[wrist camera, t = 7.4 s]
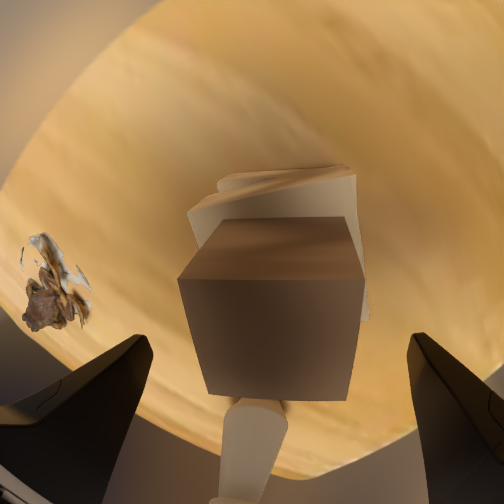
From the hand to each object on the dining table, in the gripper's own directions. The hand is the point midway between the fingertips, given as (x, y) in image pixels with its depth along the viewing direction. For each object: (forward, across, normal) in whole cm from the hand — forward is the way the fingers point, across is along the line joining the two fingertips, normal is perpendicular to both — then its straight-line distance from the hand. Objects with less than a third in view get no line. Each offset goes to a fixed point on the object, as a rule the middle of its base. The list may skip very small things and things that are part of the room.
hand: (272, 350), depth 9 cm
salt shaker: (+10, +4, +17) cm, 20 cm away
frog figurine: (+11, +23, +5) cm, 26 cm away
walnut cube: (+5, 0, 0) cm, 5 cm away
